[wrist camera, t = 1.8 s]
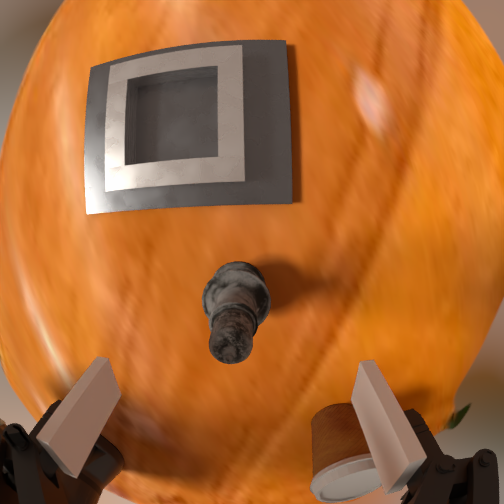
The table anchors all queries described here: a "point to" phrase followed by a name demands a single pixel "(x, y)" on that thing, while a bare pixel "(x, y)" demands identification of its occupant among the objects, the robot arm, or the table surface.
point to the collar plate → (189, 128)
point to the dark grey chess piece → (235, 310)
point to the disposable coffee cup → (341, 456)
